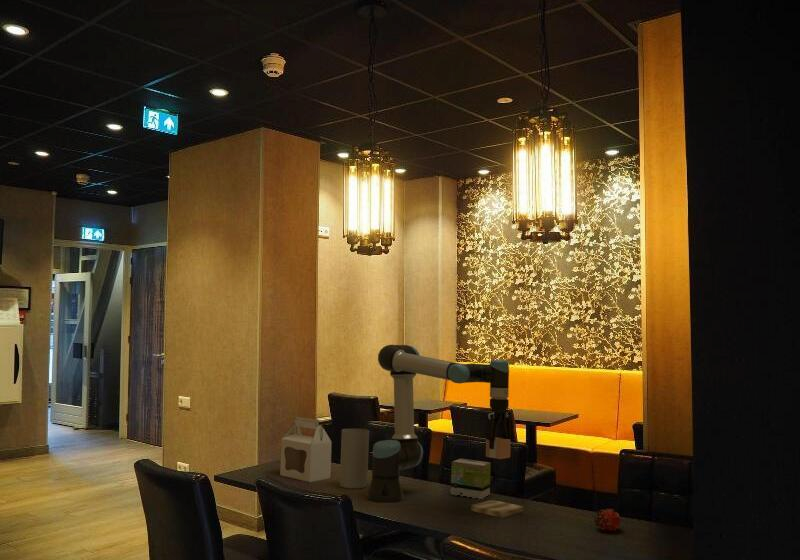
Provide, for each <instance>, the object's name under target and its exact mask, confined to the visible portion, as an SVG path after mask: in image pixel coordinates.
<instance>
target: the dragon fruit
mask: <svg viewBox="0 0 800 560" xmlns="http://www.w3.org/2000/svg"><path fill="white" fill-rule="evenodd" d="M595 512H596V515H595V516H594V525H595V526H596V527H599V528H600V529H601V531H602V532H604V533H605V532H607V531H610V532H616V531H617V529H618V527H620V524H622V523H621V522H622V521H621V519H620V514H619V513H618V512H617V511H615V510H614V509H613V508H610V509H609V508H604V509H599V510H597V511H595Z"/></svg>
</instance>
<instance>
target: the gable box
mask: <svg viewBox="0 0 800 560" xmlns="http://www.w3.org/2000/svg"><path fill="white" fill-rule="evenodd" d="M293 420H294V422H292V424H291V425H290V426H289V428H288V429H287V431H286V432H285V434H284V435H283V437H282V438H281V449H280V450H281V451H280V453H281V454H280V474H279V475H280V476H283V477H286V478H290V479H294V480H298V481H299V480H300V481H302V482H307V483H312V482H319V481H324V480H330V479H331V471H332V470H331V467H332V443H333V442H332V440H331V438H330V437H329V435H328V433H327V431H325V428H324V427H323V426H322V425H320V420H319V419H318V418H310V417H305V416H304V417H302V416H296V418H294V419H293ZM301 428H306V429H307V428H308V429H311V430H312V429H314V430H315V431H314V434H313V436H311V435H305V434H302V431H301Z"/></svg>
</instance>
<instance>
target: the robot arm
mask: <svg viewBox="0 0 800 560" xmlns="http://www.w3.org/2000/svg"><path fill="white" fill-rule="evenodd" d="M377 361H378V365H379V366H380V367H381V368H382V369H383V370H385V371H387V372H389V373H390V374H389V375H390V377H391V378H392V379H393V403H394V407H393V409H394V410H393V411H394V434H393V436H391V439H386V440H379V441H377V442H375V443H374V444H373V447H372V455H371V456H372V460H371V461H372V464H371V465H372V467H371V481H370V483H369V487H368V490H367V493H366V498H367V499H368V500H370V501H373V502H379V503H380V502H382V503H393V502H395V503H396V502H400V501H402V500H403V499H404V493H403V490H402V484H401V480H400V475H401V474H400V471H402V470H406V469H408V470H409V469H412V468H414V467H416V466H418V465H419V464H420V463H421V462H422V459H423V456H424V449H423V446H422V445H421V443H420V442H419V437H418V436H417V435H416V433H415V417H414V415H415V413H414V412H415V410H414V409H415V408H414V378H415V377H416V375H423V376H428V377H433V378H437V379H442V380H445V381H446V380H447V381H450V382H452V383H454V384H459V385H460V384H467V383H469V384H470V383H471V384H472V383H488V384H489V385H490V386H489V397H490V399H489V408H490V409H491V413H487V414H486V419H487V420H486V431H485V440H486V439H487V440H489V448H490V453H489V457H488V458H490V457H494V458H493V459H496V441H495V438H497V437H496V436H497V434H498V428H499V429H500V433H501V437H502V439H510V440H511V437H512V428H511V427H512V426H511V416H512V413H511V412H507V409H509V406H510V405H509V395H510V394H509V391H510V390H509V388H510V387H509V384H510V383H509V380H510V363H509V361H508V360H505V359H491V360H490V361H489V364H485V363H484V364H483V363H460V362H453V361H450V360H449V361H448V360H444V359H438V358H435V357H434V358H433V357H428V356H425V355H424V356H423V355H420V353H419V351H418V350H417V349H416V347H414V346H413V345H408V344H387V345H385V346H383V347H382V348H380V350H379V352H378V356H377Z"/></svg>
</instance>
